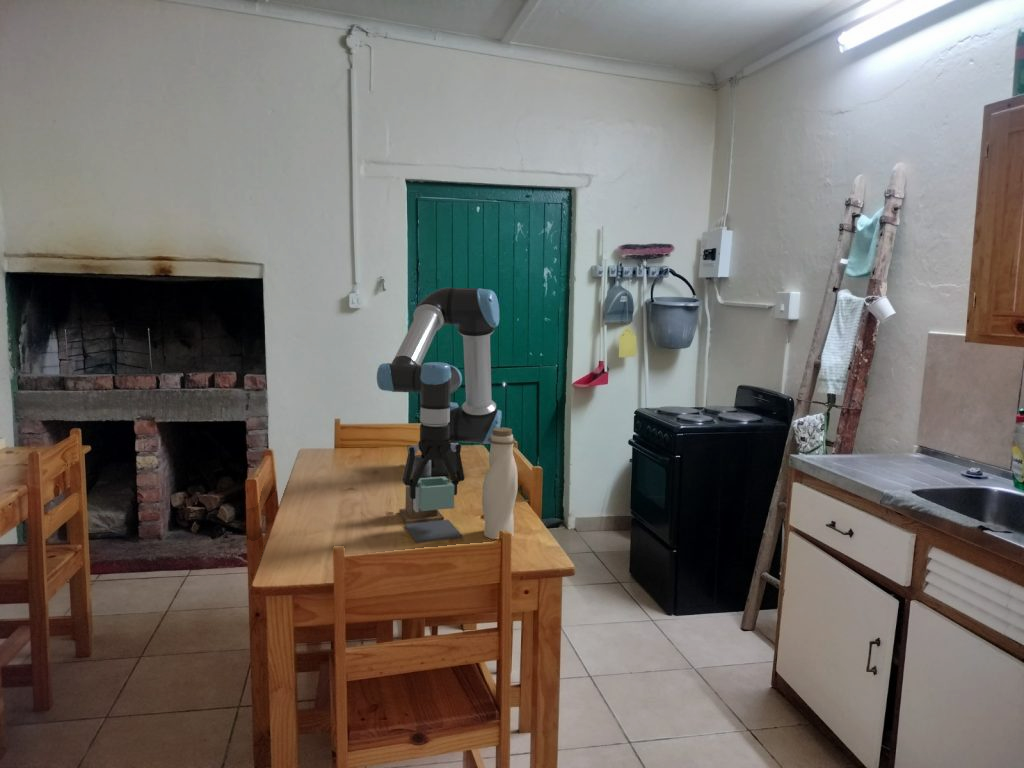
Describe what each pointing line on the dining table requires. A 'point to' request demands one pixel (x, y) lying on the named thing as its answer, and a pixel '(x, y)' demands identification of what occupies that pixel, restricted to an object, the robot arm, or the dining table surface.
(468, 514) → the dining table surface
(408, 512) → the stand
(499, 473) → the water bottle
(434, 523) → the mat
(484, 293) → the robot arm
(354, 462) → the dining table surface
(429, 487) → the teal square planter
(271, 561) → the dining table surface
